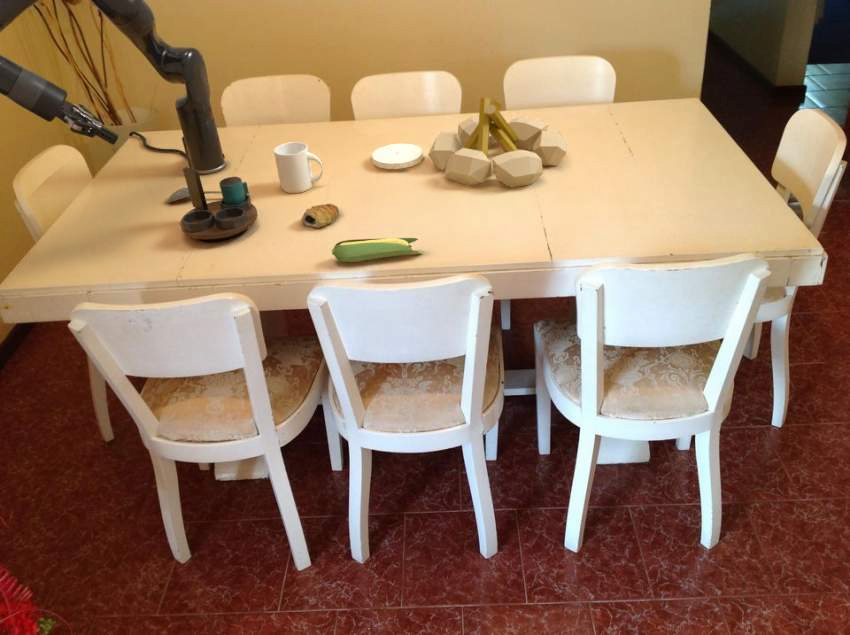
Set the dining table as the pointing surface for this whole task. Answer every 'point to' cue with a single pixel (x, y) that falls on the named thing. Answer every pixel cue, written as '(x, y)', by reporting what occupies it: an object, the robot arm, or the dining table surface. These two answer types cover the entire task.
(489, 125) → the campfire
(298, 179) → the mug
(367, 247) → the edible corn
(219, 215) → the cup holder
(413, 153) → the plastic lid
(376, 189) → the dining table surface
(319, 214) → the pastry
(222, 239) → the carousel base
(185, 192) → the soupspoon
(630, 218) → the dining table surface
